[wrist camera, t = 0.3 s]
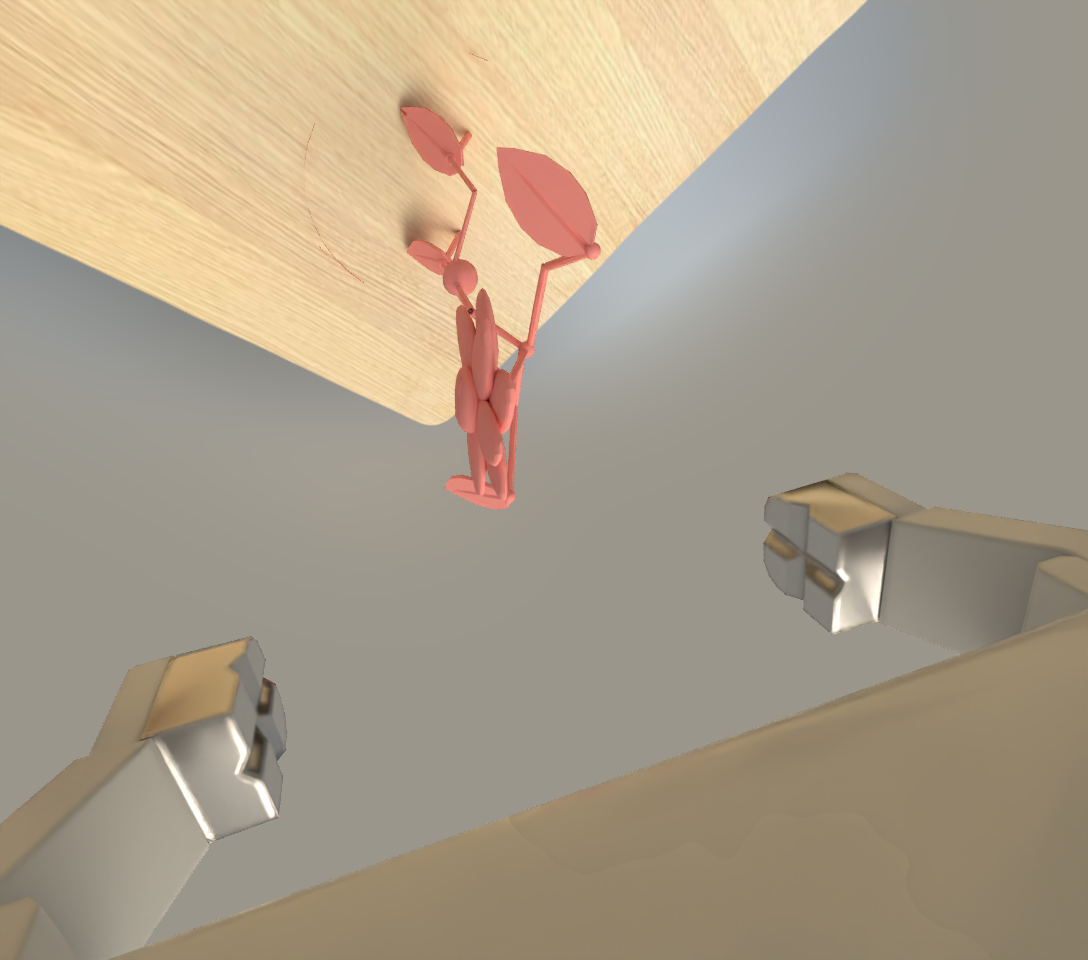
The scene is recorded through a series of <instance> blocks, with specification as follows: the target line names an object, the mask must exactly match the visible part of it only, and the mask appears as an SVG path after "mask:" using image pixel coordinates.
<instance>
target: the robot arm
mask: <svg viewBox="0 0 1088 960" xmlns="http://www.w3.org/2000/svg"><path fill="white" fill-rule="evenodd" d="M764 521H765V522H766V523H767V524H768V525H769V526H770V527H771V529H772V530H771V532H770V533H769V535H768V537H767V538H766V540H765V542H764V543H763V544H764V563H765V566H766V569H767V571H768V574H769V577H770V578H771V580H772V581H773V582H774V584H775V585H776V587H778V588H779V589H780V590H781V591H782V592H783V593H784V594H785V595H788V596H791V597H795V598H798V599H801V600H803V609H804V611H805V612H806V613H807V614H809V615H810V616H811V617H812V618H813V619H814V620H816V621H817V622H818V623H819V624H820V625H821V626H823V627H824V628H825V629H826V630H827V631H828V632H830V633H831V634H835V633H838V632H841V631H845V630H848V629H851V628H855V627H858V626H861V625H865V624H868V623H872V622H875V621H878V620H879V623H881V624H884V625H886V626H889V627H891V628H894V629H896V630H899V631H902V632H904V633H906V634H909V635H912V636H914V637H917V638H919V639H922V640H924V641H927V642H929V643H932V644H934V645H937V646H940V647H942V648H945V649H947V650H950V651H953V652H955V653H958V654H960V655H958V656H955V657H952V658H949V659H947V660H944V661H941V662H938V663H935V664H933V665H930V666H927V667H924V668H921V669H919V670H916V671H913V672H910V673H907V674H904V675H902V676H899V677H896V678H893V679H890V680H888V681H885V682H882V683H879V684H876V685H874V686H871V687H868V688H865V689H862V690H860V691H857V692H854V693H851V694H848V695H845V696H843V697H840V698H837V699H834V700H831V701H829V702H826V703H823V704H820V705H818V706H815V707H812V708H809V709H806V710H803V711H801V712H798V713H795V714H792V715H789V716H786V717H784V718H781V719H778V720H775V721H772V722H770V723H767V724H764V725H761V726H758V727H756V728H753V729H750V730H747V731H745V732H742V733H739V734H736V735H733V736H731V737H728V738H726V739H723V740H719V741H717V742H714V743H711V744H708V745H706V746H703V747H700V748H697V749H694V750H692V751H689V752H686V753H683V754H681V755H678V756H675V757H672V758H669V759H667V760H664V761H661V762H658V763H656V764H653V765H650V766H647V767H645V768H642V769H639V770H636V771H633V772H630V773H628V774H625V775H622V776H619V777H617V778H614V779H611V780H608V781H606V782H603V783H600V784H597V785H594V786H592V787H589V788H586V789H583V790H581V791H578V792H575V793H572V794H569V795H567V796H564V797H561V798H559V799H555V800H553V801H550V802H547V803H545V804H541V805H539V806H536V807H533V808H530V809H528V810H525V811H522V812H519V813H516V814H514V815H511V816H508V817H505V818H502V819H500V820H497V821H494V822H491V823H488V824H486V825H483V826H480V827H477V828H474V829H472V830H469V831H466V832H463V833H460V834H458V835H455V836H452V837H449V838H447V839H444V840H441V841H438V842H435V843H432V844H430V845H427V846H424V847H421V848H418V849H416V850H413V851H410V852H407V853H404V854H402V855H399V856H396V857H393V858H391V859H388V860H385V861H382V862H379V863H376V864H374V865H371V866H368V867H365V868H362V869H360V870H357V871H354V872H351V873H348V874H346V875H343V876H340V877H337V878H334V879H332V880H329V881H326V882H323V883H320V884H318V885H315V886H312V887H309V888H307V889H304V890H301V891H298V892H296V893H292V894H290V895H287V896H284V897H282V898H278V899H276V900H273V901H270V902H267V903H265V904H262V905H259V906H256V907H253V908H250V909H248V910H245V911H242V912H239V913H236V914H234V915H231V916H228V917H226V918H223V919H220V920H217V921H214V922H211V923H208V924H206V925H203V926H200V927H197V928H194V929H192V930H189V931H186V932H183V933H180V934H178V935H175V936H172V937H169V938H167V939H164V940H161V941H158V942H155V943H152V944H150V945H147V946H144V944H145V943H146V941H147V940H148V938H149V936H150V935H151V934H152V932H153V931H154V929H155V927H156V926H157V925H158V923H159V922H160V920H161V918H162V917H163V915H164V914H165V913H166V911H167V910H168V908H169V907H170V905H171V904H172V902H173V901H174V899H175V897H176V896H177V895H178V893H179V891H180V890H181V889H182V887H183V886H184V884H185V883H186V881H187V879H188V878H189V877H190V875H191V874H192V872H193V871H194V869H195V868H196V866H197V865H198V863H199V862H200V860H201V859H202V857H203V856H204V854H205V853H206V851H207V850H208V848H209V844H208V843H210V842H213V841H216V840H219V839H221V838H224V837H227V836H230V835H232V834H235V833H238V832H241V831H243V830H246V829H249V828H252V827H255V826H258V825H260V824H263V823H266V822H268V821H271V820H274V819H277V818H279V810H280V801H281V792H282V782H283V775H282V772H281V770H280V768H279V765H278V763H277V761H278V759H279V758H280V757H281V755H282V754H283V753H284V752H285V751H286V739H287V730H286V719H285V712H284V708H283V704H282V701H281V697H280V694H279V692H278V689H277V687H276V684H275V683H273V682H271V681H269V680H267V679H265V678H263V674H264V667H265V661H266V659H265V657H264V655H263V653H262V650H261V648H260V646H259V644H258V641H257V640H255V639H254V638H253V637H252V636H250V637H246V638H242V639H238V640H234V641H230V642H226V643H222V644H218V645H214V646H210V647H206V648H202V649H198V650H195V651H191V652H186V653H182V654H178V655H176V656H169V657H166V658H162V659H159V660H155V661H151V662H148V663H144V664H141V665H137V666H135V667H134V668H132V669H130V670H129V671H128V672H127V674H126V676H125V679H124V681H123V683H122V685H121V687H120V689H119V692H118V694H117V696H116V698H115V700H114V703H113V705H112V707H111V709H110V711H109V713H108V715H107V718H106V720H105V722H104V724H103V726H102V728H101V730H100V732H99V735H98V737H97V739H96V741H95V743H94V746H93V748H92V750H91V752H90V755H89V756H87V757H84V758H80V759H77V760H75V761H73V762H72V763H71V764H70V765H69V766H68V767H66V768H65V769H64V770H63V771H62V772H61V773H59V774H58V775H57V776H56V777H55V778H54V779H52V780H51V781H50V782H49V783H48V784H47V785H46V786H44V787H43V788H42V789H41V790H40V791H38V792H37V793H36V794H35V795H34V796H32V797H31V798H30V799H29V800H28V801H27V802H25V803H24V804H23V805H22V806H21V807H20V808H18V809H17V810H16V811H15V812H14V813H13V814H12V815H10V816H9V817H8V818H7V819H6V820H4V821H3V822H2V823H1V824H0V960H1088V530H1082V529H1075V528H1069V527H1062V526H1056V525H1050V524H1043V523H1037V522H1030V521H1024V520H1017V519H1011V518H1004V517H997V516H991V515H985V514H978V513H972V512H965V511H959V510H952V509H945V508H939V507H934V508H931V509H926V508H924V507H922V506H920V505H918V504H916V503H914V502H912V501H910V500H908V499H906V498H905V497H903V496H901V495H899V494H897V493H895V492H893V491H891V490H889V489H887V488H885V487H883V486H880V485H878V484H877V483H875V482H873V481H870V480H869V479H867V478H864V477H863V476H861V475H859V474H857V473H845V474H842V475H839V476H835V477H832V478H829V479H826V480H823V481H820V482H817V483H814V484H810V485H807V486H803V487H800V488H797V489H794V490H790V491H787V492H784V493H780V494H777V495H774V496H770V497H768V499H767V502H766V504H765V512H764ZM143 946H144V947H143Z"/></svg>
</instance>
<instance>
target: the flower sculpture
mask: <svg viewBox="0 0 1088 960" xmlns="http://www.w3.org/2000/svg"><path fill="white" fill-rule="evenodd" d="M468 53H469V52H468ZM470 54H471V53H470ZM472 55H473V54H472ZM475 56H476V55H475ZM477 57H478V56H477ZM480 58H481V57H480ZM482 59H483V58H482ZM484 60H485V59H484ZM487 61H488V60H487ZM400 110H401V114H402V117H403V121H404V124H405V126H406V129H407V131H408V134H409V137H410V139H411V142H412V144H413V146H414V147H415V148H416V150H417V151H418V153H419V154H420V156H421V157H422V159H423V160H424V161H425V162H426V163H427V164H429V165H430V166H431V167H432V168H433V169H434V170H436V171H439V172H441V173H444V174H447V175H449V176H452V175H454V174H456V173H458V174H459V175H460V176H461V178H462V179H463V180H464V182H465V183H466V185H467V186H468V187H469V189H470V190H471V191H472V196H471V199H470V203H469V206H468V210H467V213H466V217H465V220H464V224H463V227H462V231H458V232H457V234H456V236H455V238H454V239H453V241H452V243H451V245H450V247H449V249H448V250H447V252H446V254H445V253H444V251H442V250H441V249H439V248H437V247H436V246H434V245H433V244H431V243H429V242H427V241H424V240H421V239H420V240H414V241H413V242H412V243H411V245H410V246H409V247H408V249H407V253H408V254H409V255H410V256H412V257H413V258H414V259H415V260H417V261H418V262H419V263H421V264H422V265H424V266H425V267H426V268H428V269H429V270H431V271H433V272H435V273H437V274H439V275H443V284H444V287H445V289H446V290H447V291H448V292H449V293H451V294H452V295H455V296H457V297H458V298H459V300H460V301H461V302H462V304H463V305H464V306H463V305H460V306H459V307H458V308H457V310H456V325H457V335H458V344H459V350H460V356H461V361H462V368H460V370H459V372H458V374H457V378H456V385H455V416H456V419H457V420H458V424H459V425H460V426H461V428H462V429H463V430H464V431H465V432H467V444H468V455H469V463H470V469H471V475H472V477H469V476H464V475H457V476H452V477H451V478H450V479H449V480H448V482H447V483H446V485H445V489H447V490H449V491H450V492H452V493H454V494H456V495H458V496H460V497H462V498H464V499H466V500H468V501H470V502H472V503H474V504H477V505H480V506H483V507H486V508H490V509H497V510H498V509H499V510H500V509H504V508H508V507H509V506H510V502H512V501H514V499H515V498H516V495H515V493H514V492H513V488H514V470H515V453H516V435H517V417H518V407H517V406H516V405H518V401H519V393H520V387H521V380H522V373H523V366H524V361H525V359H526V358H528V357H530V356H532V355H533V353H534V346H533V345H534V342H535V337H536V332H537V327H538V322H539V317H540V312H541V307H542V302H543V297H544V292H545V286H546V281H547V276H548V271H550V270H553V269H556V268H559V267H562V266H565V265H568V264H570V263H573V262H576V261H579V260H582V259H585V258H589V259H596V258H597V257H598V256H599V255H600V252H601V249H600V246H599V245H598V244H597V243H595V242H594V240H595V235H596V229H597V222H596V219H595V216H594V213H593V211H592V208H591V205H590V202H589V199H588V197H587V194H586V192H585V191H584V190H583V188H582V187H581V186H580V184H579V183H578V182H577V180H576V179H575V178H574V176H573V175H572V174H571V172H569V171H568V170H566V169H565V168H563V167H562V166H560V165H559V164H558V163H556V162H555V161H553V160H552V159H550V158H549V157H547V156H546V155H543V154H538V153H533V152H529V151H524V150H520V149H515V148H501V147H497V157H498V167H499V172H500V177H501V181H502V186H503V190H504V195H505V200H506V203H507V204H508V206H509V208H510V210H511V211H512V213H513V215H514V217H515V218H516V220H517V222H518V224H519V225H520V227H521V228H522V229H523V230H524V231H525V232H526V233H527V234H528V235H529V236H530V237H531V238H532V239H533V240H534V241H535V242H536V243H537V244H539V245H540V246H542V247H545V248H547V249H549V250H551V251H553V252H555V253H558V254H560V255H562V257H559V258H557V259H554V260H552V261H549V262H546V263H545V264H542V265H541V270H540V275H539V280H538V285H537V290H536V295H535V301H534V306H533V311H532V317H531V323H530V329H529V334H528V340H527V341H525V342H520V341H519V340H517V339H516V338H514V337H513V336H512V335H510V334H509V333H507V332H506V331H505V330H503V329H502V328H500V327H499V326H497V325H496V324H495V320H494V315H493V311H492V306H491V303H490V299H489V297H488V295H487V293H486V291H485V290H484V289H483V288H482V289H481V290H480V292H479V293H478V296H477V300H476V310H475V309H474V308H473V306H472V304H471V303H470V301H469V299H468V298H467V296H466V295H468V294H470V293H472V292H473V290H474V289H475V287H476V285H477V280H478V276H477V271H476V269H475V267H474V266H473V265H472V264H471V263H470V262H468V261H466V260H462V259H459V256H460V253H461V249H462V245H463V242H464V238H465V235H466V231H467V227H468V224H469V220H470V217H471V213H472V210H473V206H474V202H475V199H476V195H477V190H476V188H475V187H474V185H473V184H472V183H471V182H470V180H469V179H468V178H467V176H466V175H465V174H464V172H463V171H462V170H461V166H463V165H464V160H463V149H464V148H465V146H466V145H467V143H468V141H469V140H470V138H471V137H472V134H471V133H470V132H466V134H465V135H464V137H463V138H462V140H461V141H460V143H459V142H458V140H457V138H456V136H455V134H454V132H453V130H452V128H451V127H450V126H449V125H448V124H447V123H446V122H445V120H444V119H443V118H442V117H441V116H439V115H437V114H436V113H434V112H433V111H431V110H429V109H428V108H421V107H418V108H416V107H403V108H401V109H400ZM314 124H315V123H314ZM313 127H314V126H313ZM312 130H313V129H312ZM311 133H312V132H311ZM310 136H311V135H310ZM309 139H310V138H309ZM308 142H309V141H308ZM307 146H308V144H307ZM306 152H307V150H306ZM305 158H306V156H305ZM304 164H305V163H304ZM304 188H305V187H304ZM309 212H310V211H309ZM310 215H311V214H310ZM311 218H312V217H311ZM317 232H318V231H317ZM318 234H319V233H318ZM319 236H320V235H319ZM323 243H324V242H323ZM324 245H325V244H324ZM325 246H326V245H325ZM456 246H457V248H456ZM319 247H320V246H319ZM455 248H456V252H455V255H454V259H453V261H452V260H451V259H450V258H451V256H452V254H453V252H454V250H455ZM327 249H328V248H327ZM321 250H322V249H321ZM328 250H329V249H328ZM322 251H323V250H322ZM330 253H331V252H330ZM331 254H332V253H331ZM325 255H326V254H325ZM333 257H334V256H333ZM334 258H335V257H334ZM328 259H329V258H328ZM339 263H340V262H339ZM340 264H341V263H340ZM341 265H342V264H341ZM342 266H343V265H342ZM343 267H344V266H343ZM344 268H345V267H344ZM345 269H346V268H345ZM346 270H347V269H346ZM347 271H348V270H347ZM348 272H349V271H348ZM349 273H350V272H349ZM351 274H352V273H351ZM352 275H353V274H352ZM353 276H354V275H353ZM355 277H356V276H355ZM356 278H357V277H356ZM358 279H359V278H358ZM359 280H360V279H359ZM360 281H361V280H360ZM362 282H363V281H362ZM363 283H364V282H363ZM464 307H465V308H464ZM470 315H471V316H470ZM471 317H473V318H474V319H476V329H475V326H474V323H473V321H472V318H471ZM497 334H498V335H500V336H501V337H503V338H504V339H506V340H507V341H509V342H510V343H512V344H513V345H515V346H516V347H518V348H519V349H518V350H519V353H518V358H517V361H516V363H515V365H514V367H513V369H512V371H511V373H510V375H509V373H508V372H506V371H505V370H503V369H499V368H498V367H497V365H498V352H499V350H498V340H497ZM509 428H510V443H509V459H508V474H507V462H506V454H505V447H504V443H503V439H502V435H501V434H503V433H505V432H506V431H507V430H508V429H509ZM486 470H487V471H488V474H489V478H490V481H491V484H489V483H487V482H485V480H486Z"/></svg>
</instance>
